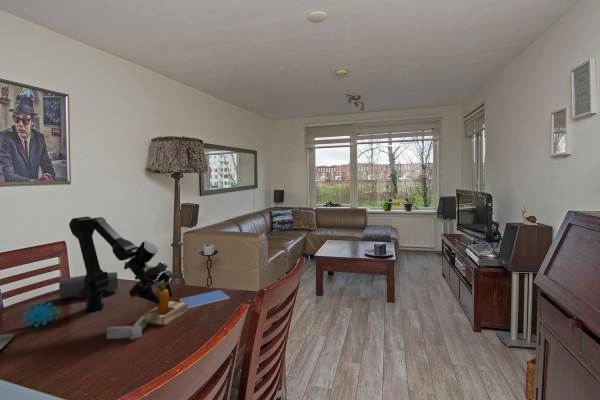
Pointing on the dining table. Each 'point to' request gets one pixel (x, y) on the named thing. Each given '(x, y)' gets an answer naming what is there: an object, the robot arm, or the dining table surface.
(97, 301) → the robot arm
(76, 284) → the bluetooth speaker
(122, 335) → the v-block
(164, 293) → the carrot
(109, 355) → the dining table surface
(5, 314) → the dining table surface
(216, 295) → the tablet computer
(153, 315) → the socket block
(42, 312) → the gear
